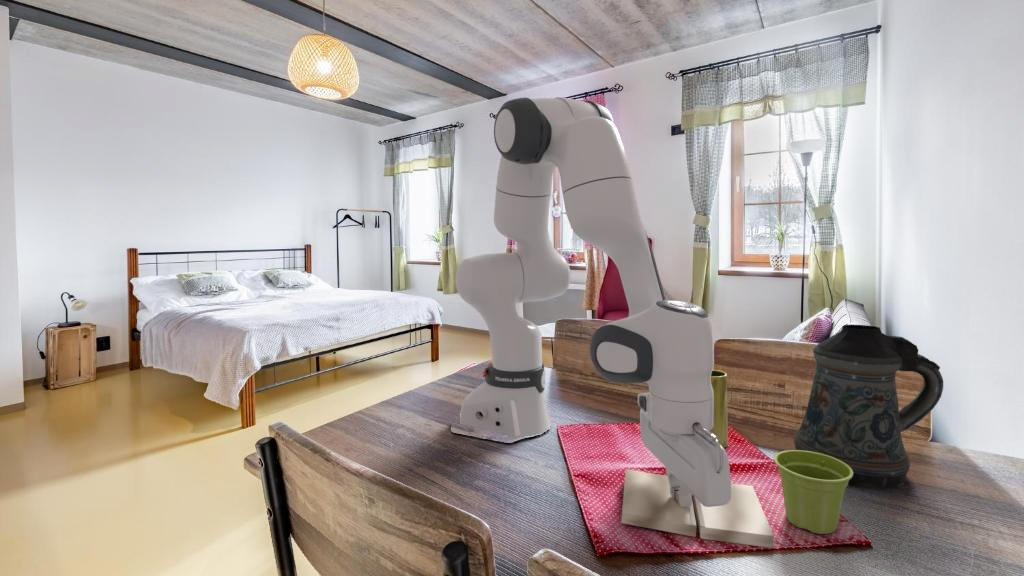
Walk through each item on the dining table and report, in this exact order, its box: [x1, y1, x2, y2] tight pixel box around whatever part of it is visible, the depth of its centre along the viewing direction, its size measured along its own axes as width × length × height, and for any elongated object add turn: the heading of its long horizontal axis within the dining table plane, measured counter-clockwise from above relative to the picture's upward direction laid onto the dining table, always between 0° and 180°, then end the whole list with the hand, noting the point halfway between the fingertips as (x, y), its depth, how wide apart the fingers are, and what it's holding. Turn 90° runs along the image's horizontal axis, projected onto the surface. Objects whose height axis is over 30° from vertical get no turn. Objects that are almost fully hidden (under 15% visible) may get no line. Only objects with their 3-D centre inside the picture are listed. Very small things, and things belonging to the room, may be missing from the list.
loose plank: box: [620, 469, 698, 538], centre depth 72 cm, size 10×13×2 cm
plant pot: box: [773, 449, 853, 535], centre depth 67 cm, size 9×9×9 cm
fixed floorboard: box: [692, 483, 775, 549], centre depth 69 cm, size 9×13×2 cm
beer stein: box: [793, 324, 944, 490], centre depth 81 cm, size 16×19×25 cm
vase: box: [709, 369, 730, 449], centre depth 93 cm, size 6×6×14 cm
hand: (680, 501), depth 70 cm, fingers closed
